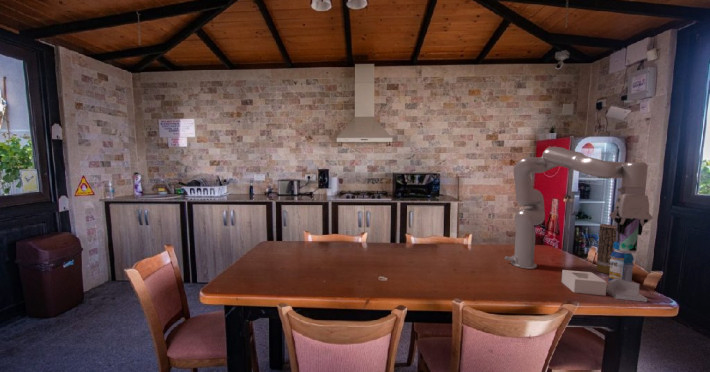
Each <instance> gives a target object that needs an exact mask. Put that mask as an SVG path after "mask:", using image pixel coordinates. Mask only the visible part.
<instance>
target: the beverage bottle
mask: <svg viewBox="0 0 710 372" xmlns="http://www.w3.org/2000/svg"><path fill="white" fill-rule="evenodd" d="M619 245H620V241H616V242H614V244H613V249H615V250H614V251H613V252H612V253H611V255H610V256H611V259H610V273H609V274H608V275H609V276H608V280H607V281H608V282H609V281H611V280H613V279H615V278H616V279H622V280H626V281H630V282H633V280H632V278H633V270H634V269H633V268H634V266H635V264H634V261H635V260H634V259H635V257H634V255H633V254H632V252H625V251H621V250H619Z"/></svg>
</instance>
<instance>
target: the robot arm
mask: <svg viewBox="0 0 710 372" xmlns="http://www.w3.org/2000/svg"><path fill="white" fill-rule="evenodd" d="M557 167H561V168H566V169H568V170H569V169H570V170H573V171H576V172H579V173H582V174H585V175H589V176H592V177H595V178H600V179H604V180H605V179H606V180H608V179H621V186H620V188H617V191H618V192H620V193H619V194H618V195H617V199H616V202H615V209H614V210H613V211H612V212H611V213H610V214H609V215H608V216H609V217H610V218H612V219H613V221H615V223H616V226H617V231H616V232H617V234H624V229H625V225H623V223H624V221H625V219H626V218H628V219H631V218H637V219H639V229H638V236H642V232H643V227H644V226H645V225H646V224H647V223H648V222H649V221H651V220H652V219H653V218H654V217H653V215H651V213H650V201H649V196H648V195H647V194H646V189H647V187H646V186H647V179H648V170H649V168H648V163H646V162H643V161H640V162H639V161H627V162H621V161H612V160H611V161H608V160H603V159H598V158H595V157H591V156H588V155H585V154H584V153H583V152H578V151H575V150H571V149H567V148H565V147H559V146H549V147H547V148H545V149H544V151H543V152H542V155H541V156H540V157H535V156H528V157H523V158H520V159H519V160H518V161H517V162H516V163H515V165H514V168H513V177H514V191H515V201H516V203H517V204H518V205H519V206H520V207H526V208H523V209H519V210H518V211H517V212H516V213H515V215H514V223H515V234H514V235H515V238H514V239H515V240H514V241H515V242H514V254H512V255H511V256H506V255H505V256H504V260H506V261H509V262H510V264H511V265H512V266H514V267H517V268H520V269H528V270H529V269H531V270H533V269H536V268H537V267H538V266H537V265H538V264H536V263H535V250H536V249H535V246H536V230H535V226H537V225H541V224H542V223H543V222H545V220H546V219H545V218H546V211H545V199H544V196H543V194H542V192H541V191H540V190H538V189H536V188H534V187H533V180H532V179H533V178H532V177H531V174H532V173H533V174H543V173H545V172H548V171H549V170H552V169H554V168H557ZM634 213H635V214H634ZM636 213H637V214H636Z"/></svg>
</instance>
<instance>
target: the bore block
mask: <svg viewBox="0 0 710 372" xmlns="http://www.w3.org/2000/svg"><path fill="white" fill-rule="evenodd" d="M561 283H562V284H563V285H564V286H566V287H567V288H568V289H569V290H570V291H571V292H573V293H576V294H585V295H586V294H587V295H597V296H607V292H606V286H608V285H607V284H608V283H607V281H606V280H604V279H603V278H601V277H599V276H598V275H596V274H595V273H593V272H591V271H579V270H567V269H562V272H561Z"/></svg>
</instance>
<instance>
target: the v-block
mask: <svg viewBox="0 0 710 372" xmlns="http://www.w3.org/2000/svg"><path fill="white" fill-rule="evenodd" d="M606 294H608V295H610V296H611V297H613V298H614V299H615V300H623V301H624V300H626V301H633V302H634V301H635V302H645V303H648V297H645V296H644V295H643V294H641V293H640V283H637V282H633V281H631V282H630V281H626V280H622V279H616V278H615V279H613V280H611V281H608V285H606Z"/></svg>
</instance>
